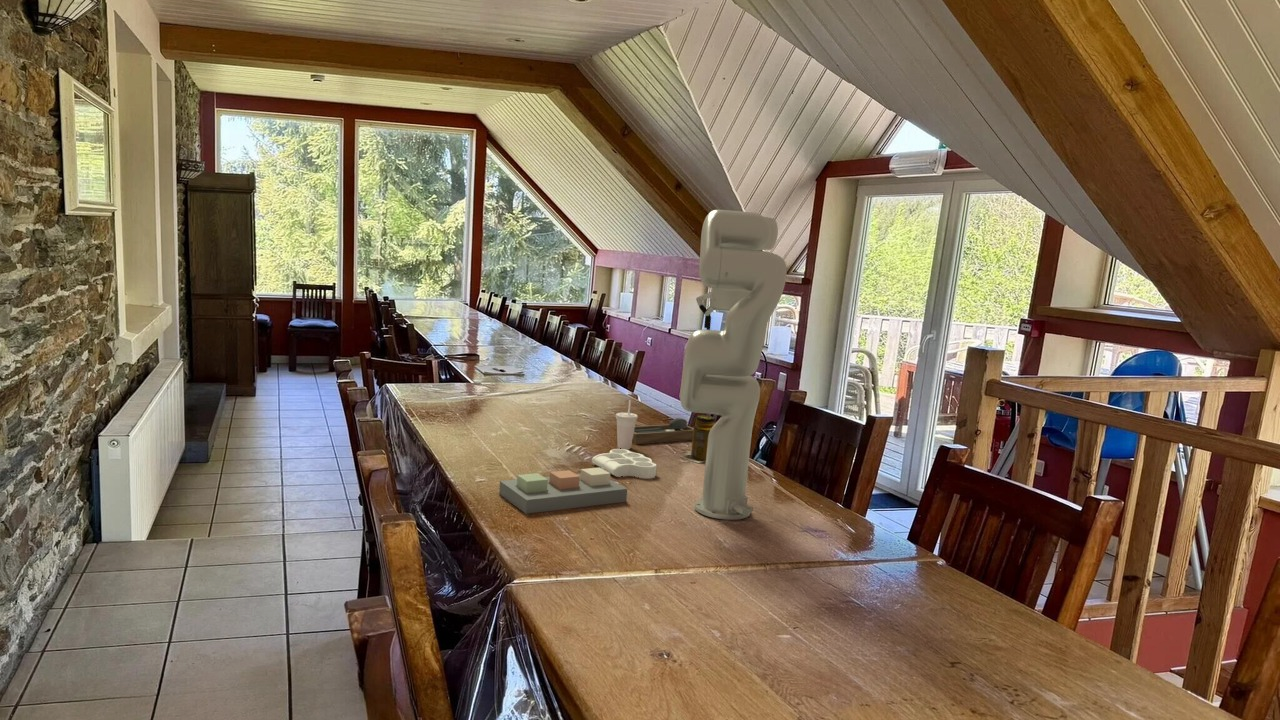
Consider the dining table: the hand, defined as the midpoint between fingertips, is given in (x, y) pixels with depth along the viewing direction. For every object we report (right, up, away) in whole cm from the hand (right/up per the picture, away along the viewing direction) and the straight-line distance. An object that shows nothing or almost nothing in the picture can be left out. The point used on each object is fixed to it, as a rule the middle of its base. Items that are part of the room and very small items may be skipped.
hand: (726, 332), depth 209 cm
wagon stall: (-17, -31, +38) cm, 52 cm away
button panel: (-40, -38, -27) cm, 62 cm away
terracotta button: (-40, -37, -27) cm, 61 cm away
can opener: (-17, -32, +38) cm, 52 cm away
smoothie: (-27, -33, +23) cm, 48 cm away
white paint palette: (-26, -36, +1) cm, 44 cm away
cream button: (-33, -37, -23) cm, 54 cm away
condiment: (-6, -35, +18) cm, 40 cm away
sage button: (-46, -37, -32) cm, 67 cm away
